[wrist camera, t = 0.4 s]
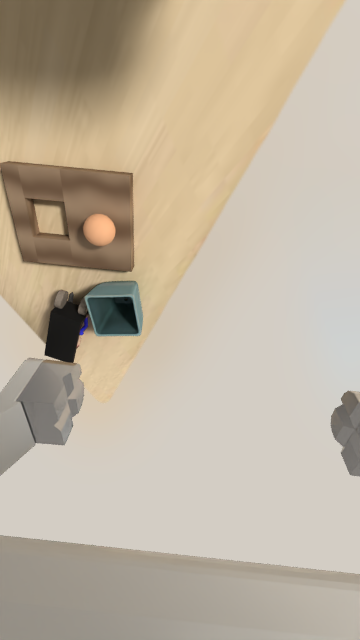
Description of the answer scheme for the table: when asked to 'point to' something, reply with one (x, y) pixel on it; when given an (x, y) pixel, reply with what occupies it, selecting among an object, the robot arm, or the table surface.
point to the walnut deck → (72, 213)
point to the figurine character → (66, 327)
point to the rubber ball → (99, 229)
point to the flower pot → (115, 309)
